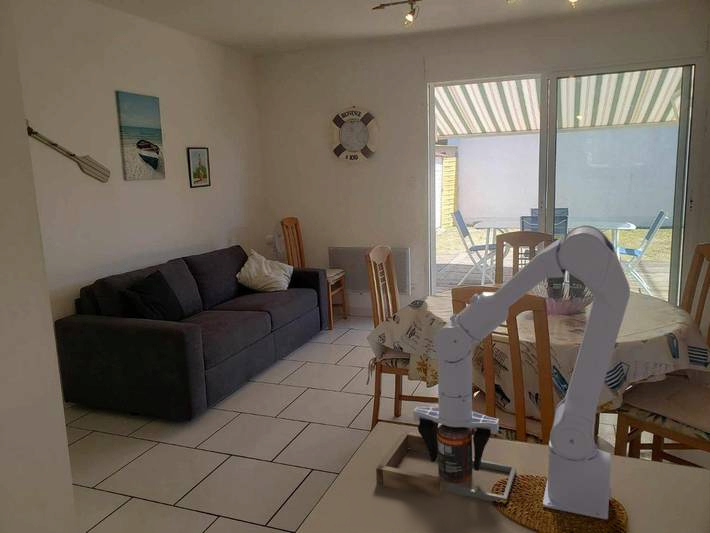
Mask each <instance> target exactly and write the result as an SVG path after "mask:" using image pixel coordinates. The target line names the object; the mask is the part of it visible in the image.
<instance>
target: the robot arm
mask: <svg viewBox="0 0 710 533" xmlns="http://www.w3.org/2000/svg"><path fill="white" fill-rule="evenodd" d="M562 240H563V237H560V238H559V239H556V240H555V241H554V242H552V243H550V244H549V245H547V246H546V247H545V248H543V249H542V250H541V251H539V252H538V253H537V254H535V256H534V257H532V258H531V259H530V261H528V262H527V263H526V264H525V265H524V266H523V267H521V269H519V270H518V271H517V272H516V273H515V274H514V275H513V276H512V277H510V279H509V280H508V281H507V282H505V283H504V284H503V285H502V286H501V287H500V288H499V289H498V290H497V291H483V292H482V293H480V294H478V293H474V295H472V297H471V298H469V302H470V303H469V304H468V305H466V307H464V309H462V310H461V311H460V312H458V314H457V313H453V314H452V315H451V316H450V317H449V321H447V323H445V324H444V326H442V328H440V329H439V330H438V332H437V334H436V335H435V336H434V339H433V348H434V351H435V353H436V354H437V356H438V357H437V358H438V359H437V361H438V364H437V390H438V391H437V392H438V393H437V396H438V405H437V406H432V407H431V406H416V407H415V408H414V409H413V412H412V414H413V421H414V422H419V424H418V425H417V431H418V432H417V433H420V434H421V436H422V438H423V439H424V441H425V444H426V446H427V449H428V452H429V453H428V452H427V453H428V454H429V459H430V462H431V463H434V464H435V463H436V460H438V441H437V436H438V428H439V424H440V425H442V424H443V425H446V426H450V427H466V428H470V429H471V430H473V429H474V430H476V431H475V432H474V433H473V435H472V443H473V450H474V454H473V455H474V456H473V459H474V465H473V471H477V472H478V471H479V470H480V468H481V467H480V465H481V460H482V457H483V453H484V451H485V448H486V446H487V444H488V442H489V440H490V438H491V436H492V435H497V434H498V432H499V430H500V428H499V427H500V419H499V418H498V417H497V418H496V417H491V416H488V415H485V414H481V413H478V412H476V411H474V410H473V366H472V350H471V349H472V348H473V347H474V346H475V344H477V343H480V342H482V341H483V340H484V339H485V338H486V337H488V336H489V335H490V334H491V333H493V332H494V331H495V330H496V329H497V328H498V327H500V326H501V325H502V324H503V323H504V322H506V321H507V320H508V318H509V307H511V306H512V305H514V304H515V303H516V302H517V301H519V300H520V299H521V298H522V297H524V296H525V295H527V293H529V292H530V291H531V290H532V289H534V288H535V287H536V286H538V285H539V284H541V283H542V282H543V281H544V280H546V279H551V278H563V277H564V278H565V276H566V273H567V272H568V274H570V275H572V276H573V277H574V278H577V279H578V280H579V281H581V282H582V283H583V285H584V286H585V287H586V288H587V289H588V290H587V291H589V293H591V295H592V297H593V300H592V303H591V307H590V310H589V314H588V317H587V321H586V324H585V327H584V328H585V329H584V331H583V336H582V339H581V343H580V346H579V350H578V354H577V357H576V360H575V364H574V368H573V369H572V370H573V371H572V373H571V374H572V375H571V378H570V380H569V384H568V388H567V390H566V393H565V395H564V398H563V399H562V400H561V401H560V402H558V404H557V405H556V407H555V410H554V419H553V423H552V427H551V430H550V434H549V441H548V463H547V464H548V466H547V467H548V469H547V479H546V483H545V489H544V495H543V499H542V506H543V507H545V508H549V509H553V510H557V511H558V510H559V511H563V512H567V513H573V514H578V515H582V516H586V517H592V518H597V519H601V520H608V519H609V505H610V504H609V502H610V500H612V487H610V486H611V485H610V483H611V462H612V460H611V458H612V457H611V456H612V453H610V452H606V451H603V450H601V449H599V448H598V445H597V444H596V443H595V424H596V420H597V419H596V418H597V417H596V414H597V409H598V404H599V400H600V396H601V393H602V389H603V386H604V383H605V381H606V380H605V379H606V377H607V373H608V369H609V366H610V363H611V359H612V357H613V353H614V350H615V346H616V342H617V340H618V336H619V334H620V331H621V325H622V322H623V320H624V316H625V314H626V310H627V306H628V303H629V300H630V295H631V289H630V283H629V281H628V279H627V277H626V274H625V272H624V270H623V266H622V264H621V262H620V259H619V256H618V254H617V252H616V249H615V246H614V244H613V243H612V241H610V240H609V238H608V237H607V236H606V235H605V234H604V233H603V231H601V230H600V229H599V228H597V227H595V226H592V225H586V224H584V225H578V226H576V227H574V228H572V229H571V230H570V231H568V232H567V233H566V235H565V236H564V240H563V241H562Z"/></svg>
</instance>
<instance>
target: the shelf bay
mask: <svg viewBox="0 0 710 533" xmlns="http://www.w3.org/2000/svg"><path fill="white" fill-rule="evenodd" d="M437 441H438V435H437ZM408 448H409V449H408ZM412 449H413V450H412ZM414 449H415V450H414ZM406 450H407V451H408V450H412V451H418V450H420V451H419V452H423V451H425V452H424V453H428V449H427V446H426V444H425V441H424V439H423V438H422V436H421V434H420V433H419V432H414V431H409V430H408V431H407V430H403V431H402V432H401V434H400V435H399V437H397V439H396V440H395V442H394V443H393V445H392V446H391V447H390V449H388V452H387V453H386V454H385V456H383V458H382V459H381V460H380V462H379V463H378V465H377V466H376V468H375V471H376V472H375V473H376V485H380V486H383V487H389V488H393V489H397V490H402V491H407V492H412V493H416V494H421V495H425V496H428V497H429V496H430V497H435V498H440V496H441V494H442V491H441V490H442V488H441V487H442V484H441V483H442V482H441V479H442V478H441V477H440V476H436V475H432V474H426V473H421V472H416V471H411V470H407V469H402V468H396V467H397V466H398V464H399V462H400V461H401V460H402V458H403V457H404V455H405V453H407V451H406Z"/></svg>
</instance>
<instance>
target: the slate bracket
mask: <svg viewBox="0 0 710 533" xmlns="http://www.w3.org/2000/svg"><path fill="white" fill-rule="evenodd" d="M472 466H474V457H472ZM480 468H486V469H490V470H491V469H492V470H497V471H502V472H505V473H506V472H507V473H509V476H508V480H507V483H506V486H505V489H504V492H503V495H501V494H497V493H492V492H486V491H481V490H477V489H474V488H473V489H472V488H468V487H462V486H458V485H453V484H448V486H447V493H452V494H457V495H461V496H465V497H471V498H476V499H480V500H484V501H489V502H493V500H497V499H498V500H499V499H500V500H507V497H508V494H509V491H510V492H511V490H510V488H511V489H512V487H511V485H512V486H513V483H514V480H513V479H515V476H516V472H517V466H516V465H511V464H510V465H509V464H506V463H505V464H504V463H499V462H494V461H489V460H485V459H484V460H483V459H481V465H480ZM512 482H513V483H512ZM509 495H510V494H509ZM508 498H509V497H508Z"/></svg>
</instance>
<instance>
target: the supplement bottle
mask: <svg viewBox="0 0 710 533" xmlns="http://www.w3.org/2000/svg"><path fill="white" fill-rule="evenodd" d="M472 433H473V432H472V428H466V427H450V426H446V425H443V424H440V425H438V435H437V436H438V457H437V460H438V461H437V462H438V463H437V465H438V466H437V467H438V469H437V470H438V475H439V477H441V479H442V480H443V481H445V482H448V483H452V484H461V483H465V482H468V481H469V480H470V479H472V477H473V465H472V458H473V434H472Z"/></svg>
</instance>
